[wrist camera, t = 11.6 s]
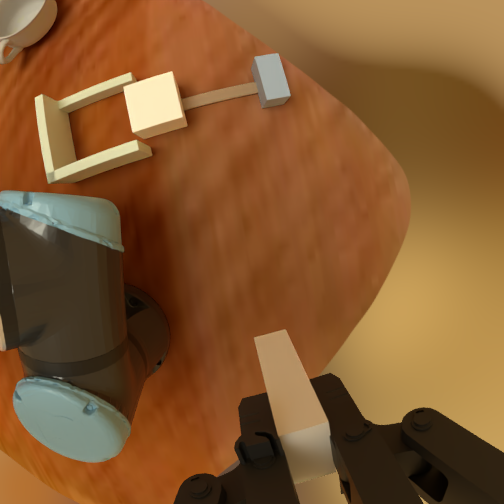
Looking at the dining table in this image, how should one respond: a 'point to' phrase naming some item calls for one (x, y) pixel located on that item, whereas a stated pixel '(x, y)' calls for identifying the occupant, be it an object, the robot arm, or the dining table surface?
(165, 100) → the tethered block
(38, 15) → the teacup
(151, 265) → the dining table surface
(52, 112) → the shelf lane
